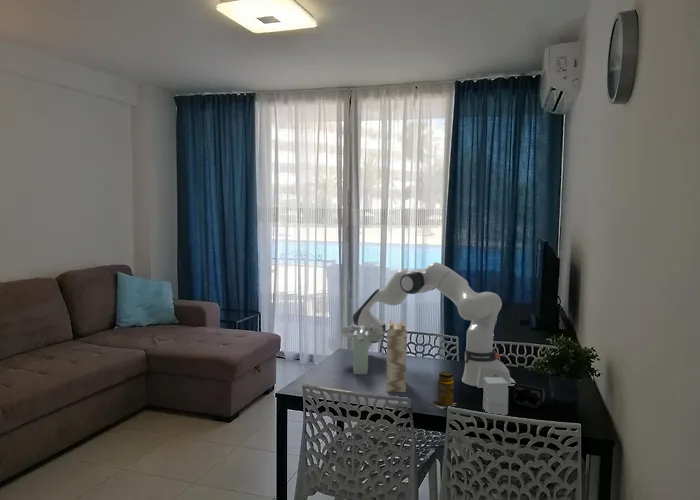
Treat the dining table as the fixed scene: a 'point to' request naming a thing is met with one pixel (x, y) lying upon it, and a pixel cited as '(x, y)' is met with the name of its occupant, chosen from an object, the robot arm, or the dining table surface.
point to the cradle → (360, 354)
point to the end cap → (529, 394)
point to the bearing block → (396, 356)
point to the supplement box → (495, 395)
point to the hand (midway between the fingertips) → (361, 327)
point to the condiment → (445, 390)
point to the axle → (361, 333)
